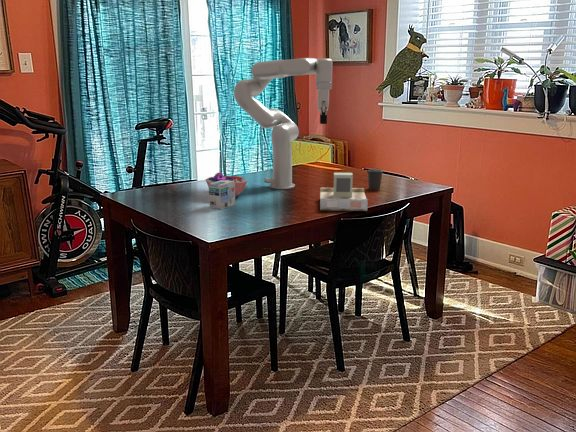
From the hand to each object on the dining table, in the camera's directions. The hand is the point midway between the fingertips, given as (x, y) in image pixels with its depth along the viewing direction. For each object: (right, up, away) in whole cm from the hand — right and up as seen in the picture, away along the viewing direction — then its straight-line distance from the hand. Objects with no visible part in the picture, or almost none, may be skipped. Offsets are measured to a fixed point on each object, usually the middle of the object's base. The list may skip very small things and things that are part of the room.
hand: (323, 122), depth 274 cm
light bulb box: (-46, -40, -20) cm, 64 cm away
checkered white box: (+8, -39, -18) cm, 44 cm away
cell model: (-46, -35, -2) cm, 58 cm away
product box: (+7, -35, -18) cm, 41 cm away
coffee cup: (+26, -31, +13) cm, 43 cm away
